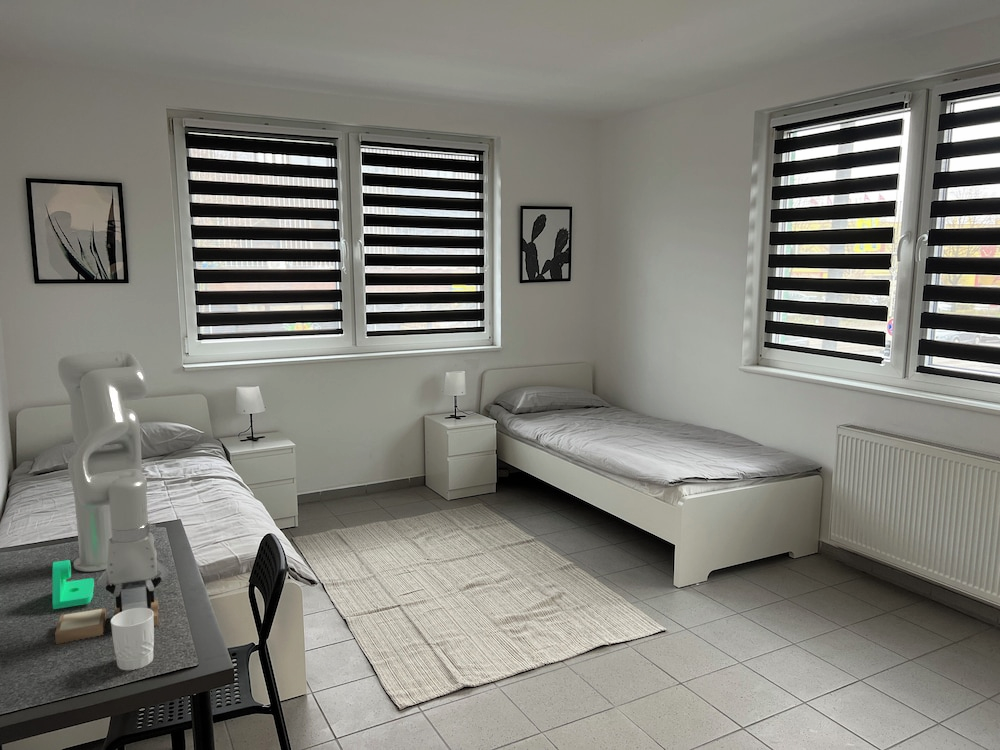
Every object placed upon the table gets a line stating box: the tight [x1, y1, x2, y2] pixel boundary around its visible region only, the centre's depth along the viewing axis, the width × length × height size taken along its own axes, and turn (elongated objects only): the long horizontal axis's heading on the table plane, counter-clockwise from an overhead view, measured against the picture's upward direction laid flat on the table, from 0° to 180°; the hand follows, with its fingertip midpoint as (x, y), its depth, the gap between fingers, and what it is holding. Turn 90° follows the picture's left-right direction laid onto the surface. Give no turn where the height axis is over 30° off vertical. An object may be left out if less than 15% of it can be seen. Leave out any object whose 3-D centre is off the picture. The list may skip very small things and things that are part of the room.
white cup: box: [110, 608, 155, 671], centre depth 149 cm, size 8×8×10 cm
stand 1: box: [54, 607, 107, 645], centre depth 162 cm, size 9×9×3 cm
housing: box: [121, 580, 148, 611], centre depth 166 cm, size 7×5×7 cm
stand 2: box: [113, 598, 160, 627], centre depth 167 cm, size 9×9×2 cm
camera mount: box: [52, 559, 95, 610], centre depth 176 cm, size 12×8×10 cm, turn 25°
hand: (135, 607), depth 166 cm, fingers closed on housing, 5 cm apart
